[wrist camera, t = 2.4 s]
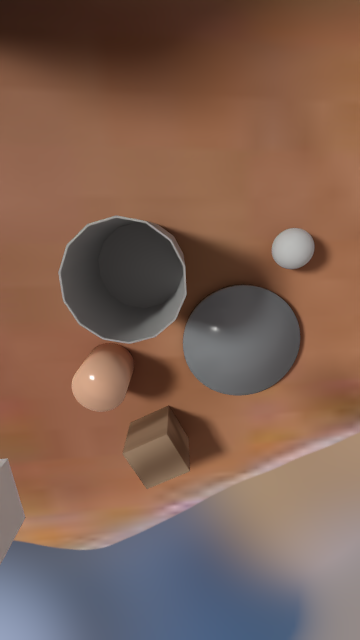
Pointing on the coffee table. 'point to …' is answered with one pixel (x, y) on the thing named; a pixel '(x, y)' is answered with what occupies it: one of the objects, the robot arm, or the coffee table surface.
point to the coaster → (241, 340)
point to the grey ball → (293, 248)
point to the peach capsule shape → (103, 377)
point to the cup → (123, 279)
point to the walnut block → (157, 448)
